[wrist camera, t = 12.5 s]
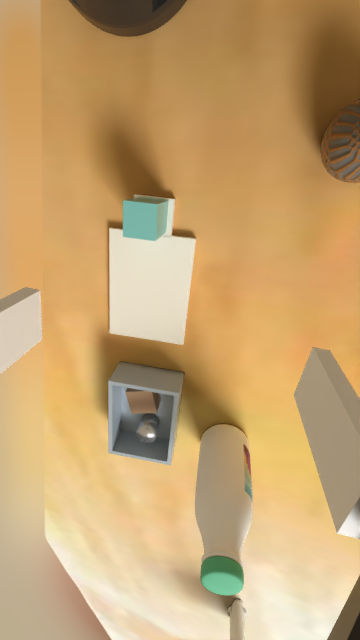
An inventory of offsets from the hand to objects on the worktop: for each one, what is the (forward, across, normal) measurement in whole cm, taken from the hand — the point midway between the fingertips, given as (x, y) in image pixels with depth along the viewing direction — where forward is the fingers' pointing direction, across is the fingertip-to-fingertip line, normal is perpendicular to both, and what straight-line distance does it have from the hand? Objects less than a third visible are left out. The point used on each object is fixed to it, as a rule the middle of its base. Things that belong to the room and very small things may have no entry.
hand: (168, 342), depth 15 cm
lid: (+26, -6, -5) cm, 27 cm away
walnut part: (+25, -5, -23) cm, 35 cm away
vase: (+26, +13, +13) cm, 31 cm away
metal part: (+25, -3, -29) cm, 39 cm away
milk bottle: (+26, +9, -30) cm, 41 cm away
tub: (+26, -4, -26) cm, 37 cm away
